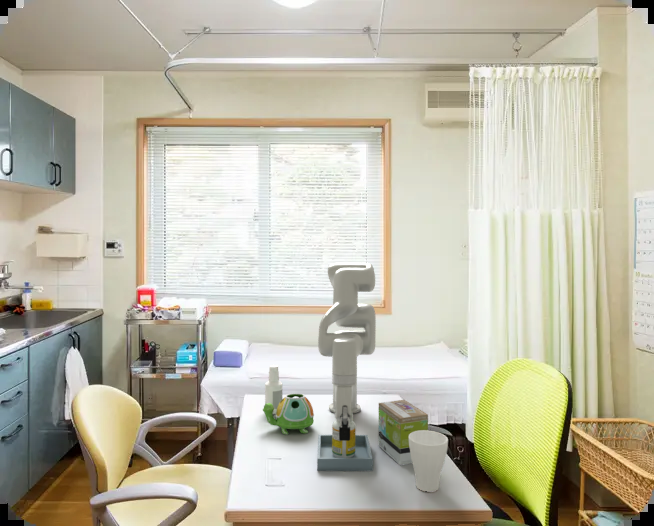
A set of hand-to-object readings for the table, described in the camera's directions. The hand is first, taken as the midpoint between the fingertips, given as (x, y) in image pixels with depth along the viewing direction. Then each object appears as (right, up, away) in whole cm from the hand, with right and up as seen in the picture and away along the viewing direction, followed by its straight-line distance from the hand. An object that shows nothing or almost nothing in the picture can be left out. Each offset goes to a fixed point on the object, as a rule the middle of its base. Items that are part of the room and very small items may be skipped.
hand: (343, 433), depth 149 cm
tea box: (+18, -8, +3) cm, 20 cm away
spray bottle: (-26, -6, +41) cm, 49 cm away
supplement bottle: (0, -7, 0) cm, 7 cm away
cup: (+22, -8, -18) cm, 29 cm away
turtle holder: (-18, -7, +23) cm, 30 cm away
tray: (0, -7, 0) cm, 7 cm away
